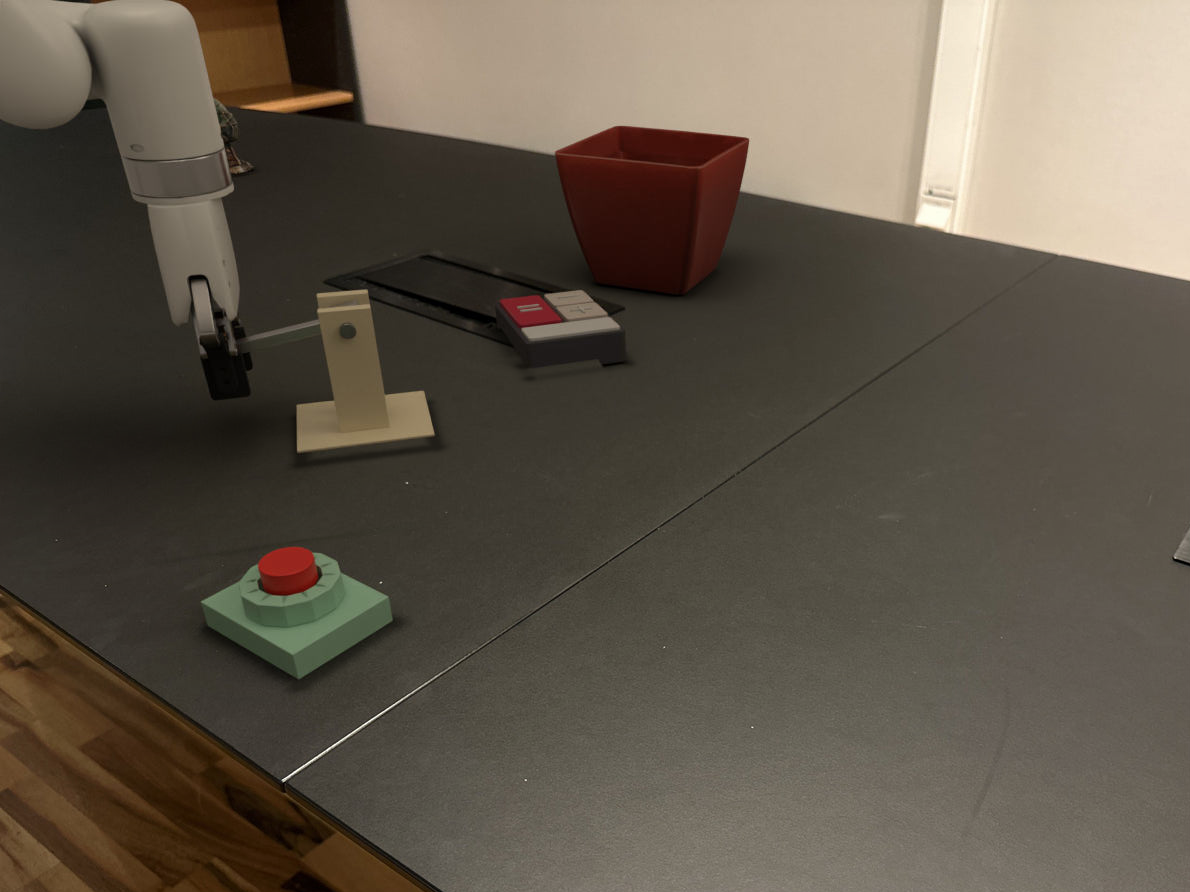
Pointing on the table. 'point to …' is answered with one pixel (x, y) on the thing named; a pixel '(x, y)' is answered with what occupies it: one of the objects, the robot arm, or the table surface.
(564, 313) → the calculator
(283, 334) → the lever
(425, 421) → the bracket
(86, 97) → the robot arm
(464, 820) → the table surface
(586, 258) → the flower pot
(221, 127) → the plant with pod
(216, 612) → the control block
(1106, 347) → the table surface
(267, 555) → the button
